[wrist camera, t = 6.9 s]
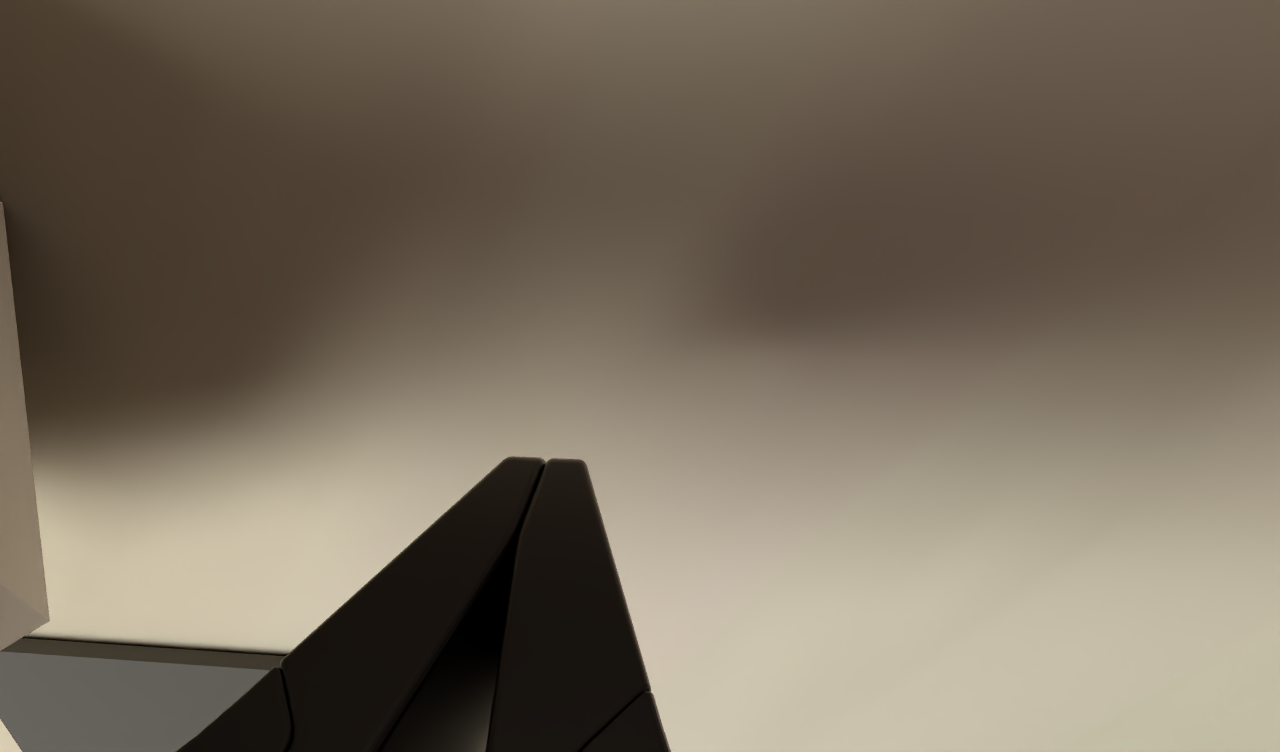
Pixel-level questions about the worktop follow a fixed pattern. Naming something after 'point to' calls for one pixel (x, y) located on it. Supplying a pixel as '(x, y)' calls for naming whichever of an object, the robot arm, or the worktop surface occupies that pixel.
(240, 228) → the worktop surface
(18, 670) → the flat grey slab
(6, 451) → the die
